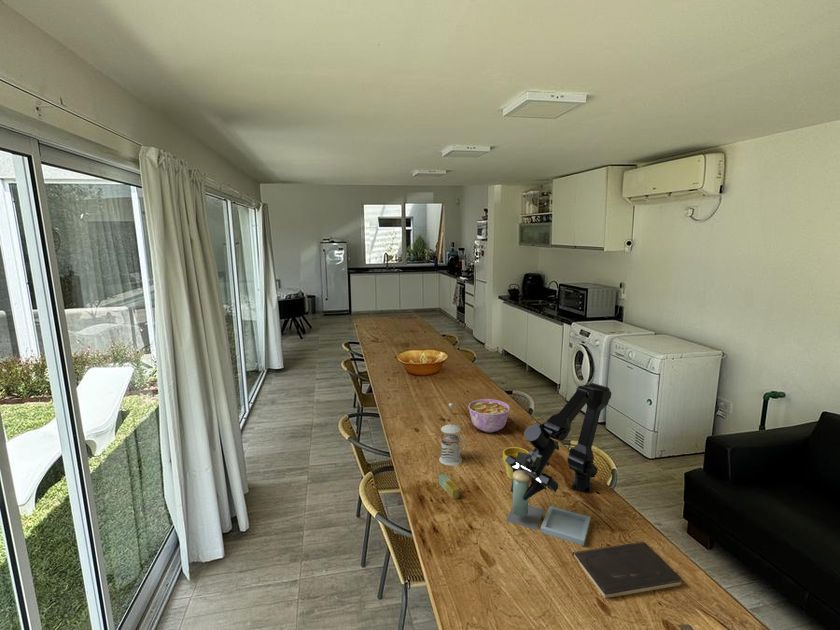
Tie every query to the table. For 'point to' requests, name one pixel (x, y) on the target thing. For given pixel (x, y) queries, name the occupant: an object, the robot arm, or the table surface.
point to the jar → (520, 492)
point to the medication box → (448, 485)
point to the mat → (527, 517)
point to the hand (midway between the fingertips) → (517, 495)
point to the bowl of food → (489, 414)
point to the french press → (453, 456)
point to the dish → (566, 525)
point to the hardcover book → (626, 569)
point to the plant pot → (513, 452)
